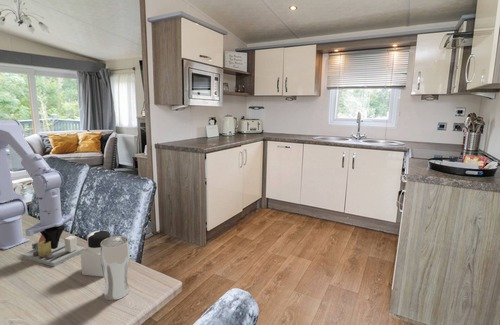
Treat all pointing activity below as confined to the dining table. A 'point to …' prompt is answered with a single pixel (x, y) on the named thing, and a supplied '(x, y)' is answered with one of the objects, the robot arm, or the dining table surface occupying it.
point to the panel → (53, 254)
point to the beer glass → (115, 266)
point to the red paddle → (40, 240)
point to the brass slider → (44, 248)
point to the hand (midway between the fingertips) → (53, 247)
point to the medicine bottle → (93, 254)
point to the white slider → (70, 243)
